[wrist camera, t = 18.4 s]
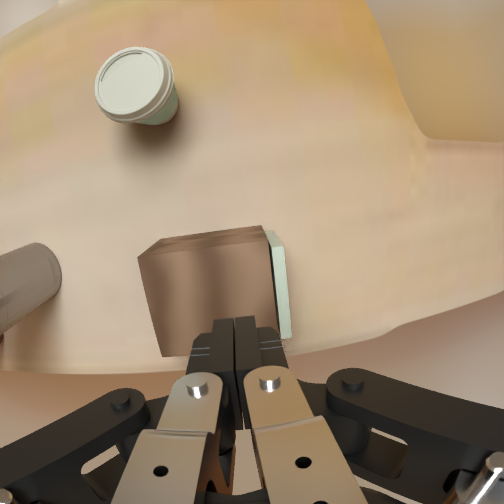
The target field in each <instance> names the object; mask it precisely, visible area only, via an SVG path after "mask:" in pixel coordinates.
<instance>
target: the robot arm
mask: <svg viewBox="0 0 504 504" xmlns="http://www.w3.org/2000/svg"><path fill="white" fill-rule="evenodd" d="M60 284H61V271H60V267H59V264H58V261H57V259H56V257H55V256H54V254H53V253H52V251H51V250H50V249H49V248H47V247H46V246H44V245H42V244H40V243H32V244H29V245H26V246H24V247H21V248H18V249H16V250H13V251H11V252H8V253H6V254H3V255H1V256H0V335H2V334H3V333H4V332H5V331H7V330H8V329H9V328H10V327H12V326H13V325H14V324H16V323H17V322H18V321H20V320H21V319H22V318H24V317H25V316H26V315H28V314H29V313H30V312H32V311H33V310H34V309H36V308H37V307H39V306H40V305H41V304H43V303H44V302H46V301H47V300H48V299H50V298H51V297H52V296H54V295H55V294H56V293H57V291H58V290H59V287H60ZM242 412H243V417H242ZM243 418H244V424H245V429H251V436H252V442H253V448H254V453H255V458H256V463H257V468H258V473H259V477H260V482H261V487H262V489H261V490H257V491H254V492H250V493H246V494H242V495H232V491H233V478H234V466H235V452H236V447H235V439H236V435H235V434H236V433H235V430H243ZM372 428H375V429H377V430H380V431H382V432H385V433H387V434H390V435H393V436H395V437H398V438H400V439H402V440H404V441H405V442H406V443H407V444H408V445H405V444H402V443H399V442H397V441H394V440H392V439H389V438H387V437H384V436H382V435H379V434H377V433H374V432H371V429H372ZM114 445H116V447H117V449H118V451H119V452H120V454H118V455H116V456H115V457H113V458H112V459H110V460H109V461H107V462H106V463H104V464H102V465H101V466H99V467H97V468H96V469H94V470H93V471H91V472H89V473H87V474H81V468H82V466H83V465H84V464H85V463H86V462H88V461H89V460H91V459H93V458H94V457H96V456H98V455H99V454H101V453H103V452H104V451H106V450H107V449H109V448H111V447H112V446H114ZM353 474H354V475H356V476H358V477H360V478H362V479H364V480H367V481H369V482H371V483H373V484H375V485H378V486H380V487H383V488H385V489H387V490H389V491H392V492H394V493H397V494H399V495H401V496H404V497H406V498H409V499H412V500H414V501H417V502H420V503H423V504H504V409H500V408H496V407H492V406H488V405H484V404H480V403H475V402H471V401H468V400H464V399H460V398H456V397H453V396H449V395H445V394H442V393H438V392H435V391H431V390H428V389H424V388H421V387H418V386H414V385H411V384H408V383H405V382H402V381H398V380H395V379H392V378H389V377H386V376H383V375H380V374H376V373H374V372H371V371H368V370H364V369H360V368H347V369H342V370H339V371H337V372H335V373H333V374H332V375H331V376H330V377H329V378H328V380H327V382H326V384H315V383H307V382H303V381H300V380H298V379H296V377H295V375H294V373H293V372H292V371H291V370H289V368H288V365H287V361H286V357H285V354H284V351H283V347H282V344H281V341H280V337H279V334H278V332H277V331H276V330H275V329H273V328H272V327H271V326H268V327H259V328H256V322H255V316H254V315H251V316H242V317H235V324H234V318H223V319H214V320H213V327H212V332H210V333H201V334H200V335H199V336H198V337H197V338H196V339H195V340H194V341H193V345H192V350H191V353H190V358H189V362H188V366H187V371H186V375H185V376H183V377H181V378H180V379H179V380H177V381H176V382H175V383H174V385H173V387H172V390H171V392H170V395H168V396H165V397H162V398H157V399H153V400H148V401H146V400H145V397H144V395H143V394H142V393H141V392H140V391H138V390H136V389H131V388H122V389H117V390H114V391H111V392H109V393H107V394H105V395H103V396H101V397H100V398H98V399H96V400H94V401H93V402H90V403H89V404H87V405H85V406H83V407H81V408H79V409H77V410H76V411H74V412H72V413H70V414H68V415H66V416H65V417H62V418H61V419H59V420H57V421H55V422H53V423H51V424H49V425H47V426H45V427H43V428H41V429H39V430H37V431H35V432H33V433H31V434H29V435H27V436H25V437H23V438H21V439H19V440H17V441H15V442H13V443H11V444H9V445H6V446H4V447H3V448H0V504H406V503H403V502H401V501H399V500H397V499H394V498H392V497H390V496H388V495H386V494H383V493H381V492H378V491H375V490H372V489H369V488H365V487H360V486H359V485H358V483H357V481H356V479H355V477H354V475H353Z"/></svg>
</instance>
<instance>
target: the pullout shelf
mask: <svg viewBox="0 0 504 504" xmlns="http://www.w3.org/2000/svg"><path fill="white" fill-rule="evenodd" d="M265 235H266V237H267V239H268V246H269V255H270V264H271V273H272V282H273V291H274V300H275V310H276V319H277V324H278V328H279V332H280V336H281V339H286V338H292V332H291V320H290V309H289V297H288V287H287V276H286V266H285V256H284V246H283V244H282V243H281V241H280V240H279V238H278V237H277V235H276V233H275V232H274V231H267V232H265Z"/></svg>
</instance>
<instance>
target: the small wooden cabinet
mask: <svg viewBox="0 0 504 504" xmlns="http://www.w3.org/2000/svg"><path fill="white" fill-rule="evenodd" d="M137 258H138V263H139V268H140V272H141V277H142V281H143V286H144V290H145V294H146V298H147V303H148V307H149V311H150V315H151V318H152V322H153V326H154V330H155V333H156V337H157V341H158V344H159V348H160V351H161V354H162V357H172V356H187V355H190V353H191V350H192V345H193V341H194V340H195V339H196V338H197V337H198V336H199V335H200V334H201V333H210V332H212V327H213V320H214V319H223V318H234V324H235V317H242V316H251V315H254V316H255V322H256V328H259V327H268V326H271V327H272V328H273V329H275V330H276V331H277V332H278V329H277V319H276V310H275V300H274V291H273V282H272V273H271V264H270V255H269V246H268V239H267V237H266V235H265V233H264V230H263V228H262V226H261V225H260V226H252V227H244V228H237V229H229V230H221V231H214V232H207V233H199V234H192V235H185V236H178V237H171V238H164V239H160V240H159V241H157V242H156V243H155V244H154V245H152V246H151V247H150V248H148V249H147V250H146V251H145V252H143V253H142V254H141V255H140V256H138V257H137Z"/></svg>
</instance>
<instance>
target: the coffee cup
mask: <svg viewBox="0 0 504 504" xmlns="http://www.w3.org/2000/svg"><path fill="white" fill-rule="evenodd" d="M173 79H174V77H173V70H172V67H171V64H170V63H169V61H168V60H167V58H166V57H165V56H163V55H162V54H161V53H159V52H158V51H156V50H153V49H150V48H144V47H130V48H126V49H123V50H121V51H119V52H117V53H115V54H114V55H112V56H111V57H110V58H109V59H108V60H107V61H106V62H105V63H104V64H103V65H102V67H101V68H100V70H99V72H98V74H97V77H96V80H95V85H94V91H95V97H96V100H97V104H98V106H99V108H100V109H101V111H102V112H103V113H104V114H105V115H106V116H107V117H108V118H110V119H111V120H113V121H116V122H120V123H141V124H147V125H154V126H156V125H162V124H164V123H166V122H168V121H169V120H171V119H172V118H173V117H174V115H175V114H176V112H177V110H178V106H179V99H178V95H177V92H176V88H175V85H174V82H173Z"/></svg>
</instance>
